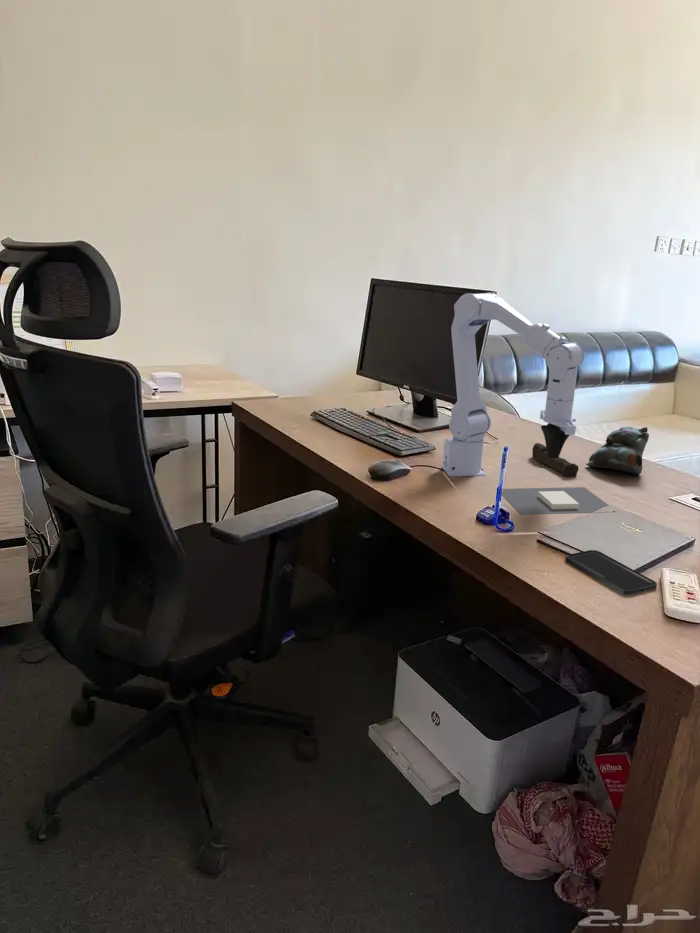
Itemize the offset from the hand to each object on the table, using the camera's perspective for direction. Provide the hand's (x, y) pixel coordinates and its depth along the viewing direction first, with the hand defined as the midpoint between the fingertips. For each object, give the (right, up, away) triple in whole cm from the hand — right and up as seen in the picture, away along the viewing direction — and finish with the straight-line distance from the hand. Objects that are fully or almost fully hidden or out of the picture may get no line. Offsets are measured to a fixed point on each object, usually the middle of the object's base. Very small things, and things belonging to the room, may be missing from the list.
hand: (552, 457), depth 153 cm
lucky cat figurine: (+23, -3, +23) cm, 33 cm away
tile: (0, -8, +1) cm, 8 cm away
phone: (0, -21, -34) cm, 40 cm away
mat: (0, -10, 0) cm, 10 cm away
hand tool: (+6, -3, +24) cm, 25 cm away
